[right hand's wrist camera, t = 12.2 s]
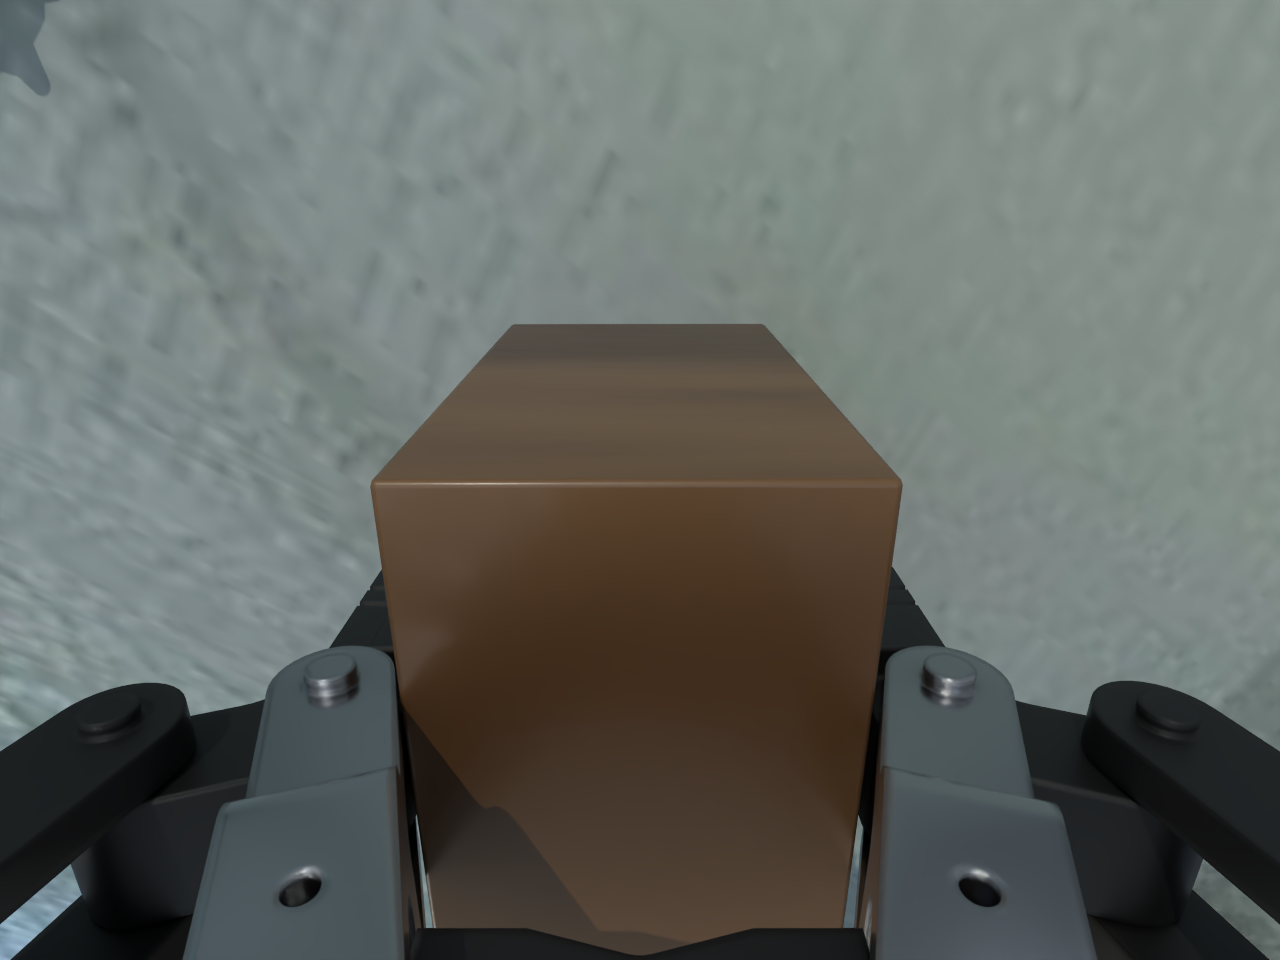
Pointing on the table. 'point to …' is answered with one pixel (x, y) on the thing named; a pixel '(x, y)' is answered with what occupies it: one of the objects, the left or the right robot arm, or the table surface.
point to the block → (637, 634)
